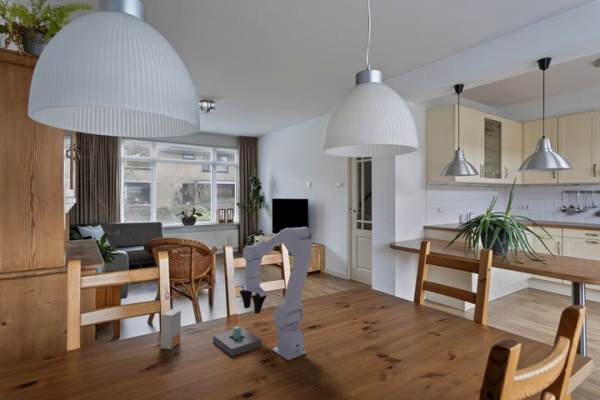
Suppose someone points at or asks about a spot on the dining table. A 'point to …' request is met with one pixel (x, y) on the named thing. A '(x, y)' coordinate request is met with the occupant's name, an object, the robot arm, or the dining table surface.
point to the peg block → (236, 342)
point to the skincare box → (170, 328)
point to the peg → (236, 333)
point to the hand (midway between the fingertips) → (252, 310)
